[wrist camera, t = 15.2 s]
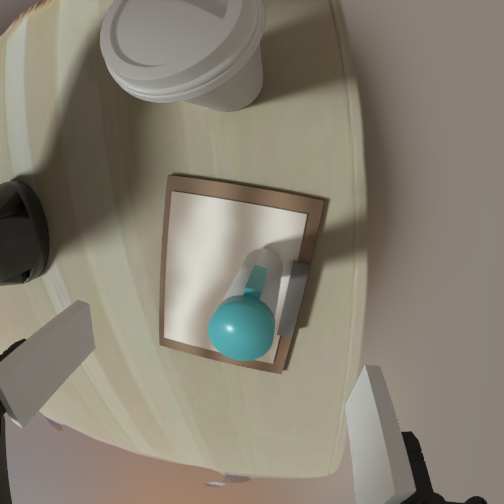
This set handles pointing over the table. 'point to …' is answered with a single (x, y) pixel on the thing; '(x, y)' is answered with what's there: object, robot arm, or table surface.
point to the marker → (249, 308)
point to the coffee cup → (186, 50)
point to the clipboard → (230, 259)
